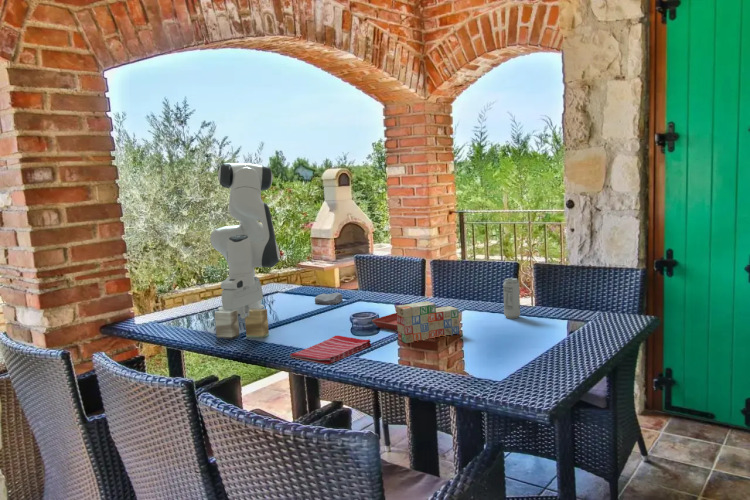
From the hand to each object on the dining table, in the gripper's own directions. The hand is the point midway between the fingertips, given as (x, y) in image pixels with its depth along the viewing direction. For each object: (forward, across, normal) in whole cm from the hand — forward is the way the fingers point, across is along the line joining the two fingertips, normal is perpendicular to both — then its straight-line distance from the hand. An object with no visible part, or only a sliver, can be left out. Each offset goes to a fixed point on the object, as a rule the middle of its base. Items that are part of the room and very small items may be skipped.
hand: (245, 317), depth 221 cm
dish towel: (+9, +5, +38) cm, 39 cm away
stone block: (+9, -67, -2) cm, 68 cm away
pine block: (+9, -3, -10) cm, 14 cm away
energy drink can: (+9, -53, +86) cm, 102 cm away
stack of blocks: (+9, -19, +64) cm, 67 cm away
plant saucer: (+9, -32, +50) cm, 60 cm away
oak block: (+9, -7, 0) cm, 11 cm away
